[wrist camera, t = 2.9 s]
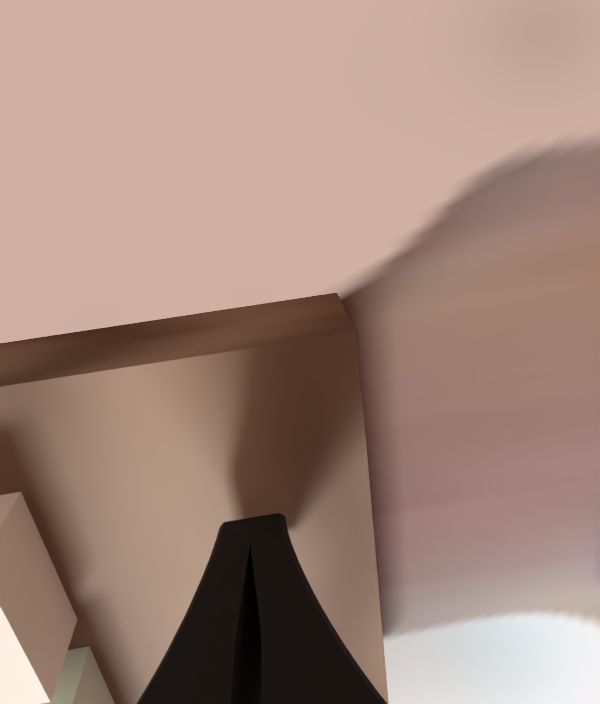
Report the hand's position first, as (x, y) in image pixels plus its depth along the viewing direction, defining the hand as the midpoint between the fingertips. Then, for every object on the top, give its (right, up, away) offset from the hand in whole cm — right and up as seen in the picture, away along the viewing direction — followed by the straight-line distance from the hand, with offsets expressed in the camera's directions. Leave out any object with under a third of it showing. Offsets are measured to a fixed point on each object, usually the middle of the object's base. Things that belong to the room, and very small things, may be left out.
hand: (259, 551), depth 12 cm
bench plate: (-4, -2, +4) cm, 6 cm away
